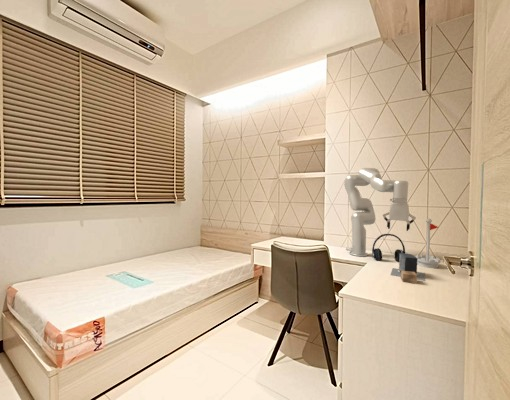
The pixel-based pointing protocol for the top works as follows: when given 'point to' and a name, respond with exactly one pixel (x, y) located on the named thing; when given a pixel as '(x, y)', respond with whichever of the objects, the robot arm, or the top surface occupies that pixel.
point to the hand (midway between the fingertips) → (397, 229)
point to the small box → (407, 263)
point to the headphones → (378, 254)
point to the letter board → (397, 273)
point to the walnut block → (409, 277)
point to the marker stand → (426, 259)
